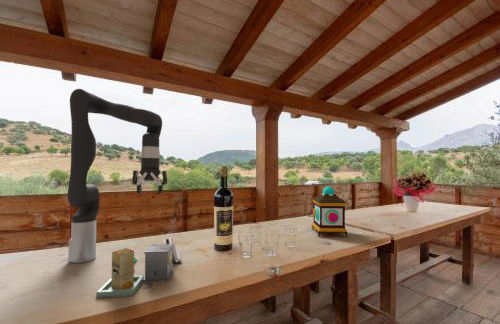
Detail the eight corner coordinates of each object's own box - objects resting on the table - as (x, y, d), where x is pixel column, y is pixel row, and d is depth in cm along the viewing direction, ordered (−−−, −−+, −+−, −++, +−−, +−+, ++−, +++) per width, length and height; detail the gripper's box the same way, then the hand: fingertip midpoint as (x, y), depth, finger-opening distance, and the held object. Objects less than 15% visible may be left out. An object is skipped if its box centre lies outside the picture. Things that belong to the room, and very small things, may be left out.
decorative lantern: (350, 238, 143) (350, 187, 144) (316, 238, 143) (317, 187, 144) (338, 229, 163) (338, 185, 164) (309, 229, 163) (309, 184, 164)
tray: (96, 297, 77) (96, 292, 77) (112, 281, 88) (112, 276, 88) (132, 296, 78) (132, 290, 78) (143, 280, 89) (144, 275, 89)
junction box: (142, 282, 88) (142, 252, 88) (150, 270, 97) (150, 244, 97) (168, 281, 89) (168, 252, 89) (174, 270, 98) (174, 243, 98)
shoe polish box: (125, 281, 87) (126, 248, 87) (133, 285, 84) (134, 250, 84) (111, 287, 83) (112, 252, 83) (119, 291, 80) (120, 255, 80)
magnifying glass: (120, 261, 107) (120, 257, 107) (135, 258, 110) (135, 255, 110) (123, 275, 94) (123, 270, 94) (140, 271, 97) (140, 267, 97)
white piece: (182, 263, 105) (174, 242, 104) (171, 268, 103) (163, 247, 102) (179, 250, 120) (172, 232, 119) (170, 254, 119) (162, 236, 118)
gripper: (130, 156, 102) (129, 195, 102) (164, 157, 104) (164, 195, 103) (137, 157, 110) (136, 193, 110) (169, 157, 111) (168, 193, 111)
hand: (149, 194), depth 106 cm, fingers open, 8 cm apart
